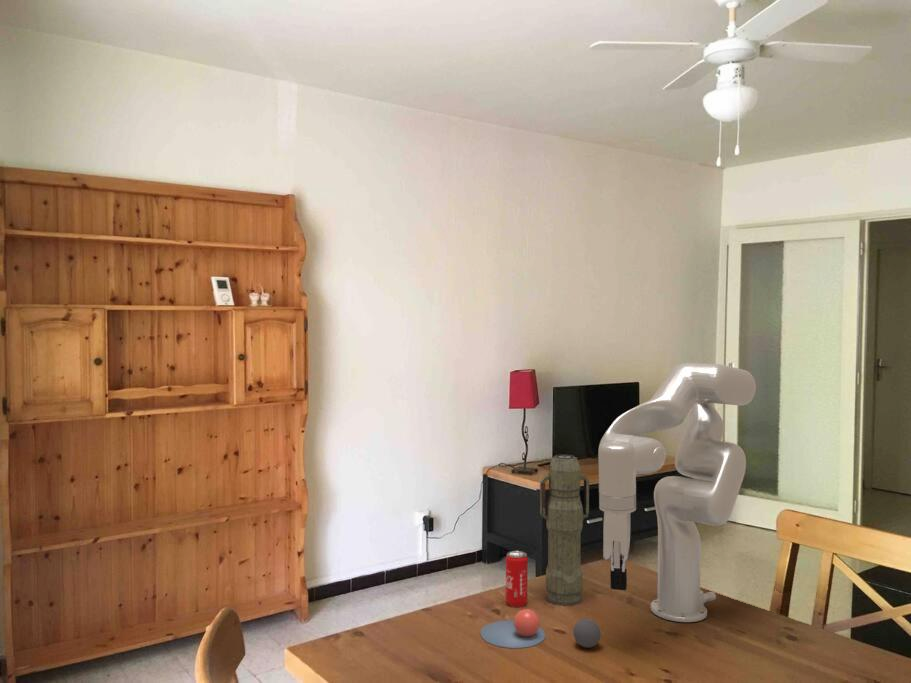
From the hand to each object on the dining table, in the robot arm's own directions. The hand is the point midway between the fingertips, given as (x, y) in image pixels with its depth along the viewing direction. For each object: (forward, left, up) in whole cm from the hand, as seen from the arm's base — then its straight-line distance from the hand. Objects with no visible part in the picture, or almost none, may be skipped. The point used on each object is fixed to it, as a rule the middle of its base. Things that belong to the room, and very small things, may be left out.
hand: (618, 588), depth 153 cm
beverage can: (+8, -29, -12) cm, 32 cm away
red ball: (+15, -12, -9) cm, 21 cm away
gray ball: (+6, -2, -9) cm, 11 cm away
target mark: (+18, -14, -12) cm, 25 cm away
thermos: (-4, -27, -12) cm, 30 cm away
